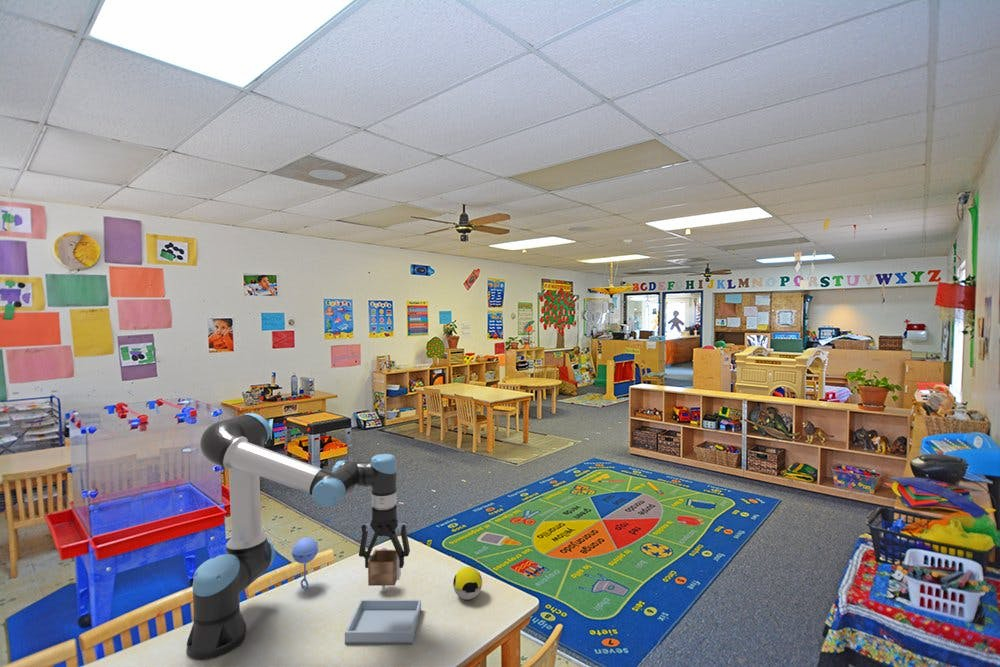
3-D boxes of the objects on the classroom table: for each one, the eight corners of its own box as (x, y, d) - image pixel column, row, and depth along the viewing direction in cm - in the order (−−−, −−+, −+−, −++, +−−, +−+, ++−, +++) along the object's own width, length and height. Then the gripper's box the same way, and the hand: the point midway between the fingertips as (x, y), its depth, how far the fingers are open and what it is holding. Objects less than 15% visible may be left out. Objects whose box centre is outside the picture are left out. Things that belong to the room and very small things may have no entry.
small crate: (368, 585, 140) (368, 562, 140) (375, 571, 148) (375, 549, 148) (394, 585, 140) (394, 562, 140) (400, 571, 148) (400, 549, 148)
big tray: (344, 644, 137) (344, 632, 136) (360, 609, 153) (360, 599, 152) (412, 644, 137) (412, 632, 137) (421, 610, 153) (421, 599, 153)
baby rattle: (323, 586, 166) (323, 537, 165) (302, 598, 158) (301, 547, 158) (308, 579, 170) (308, 531, 170) (286, 590, 163) (286, 540, 162)
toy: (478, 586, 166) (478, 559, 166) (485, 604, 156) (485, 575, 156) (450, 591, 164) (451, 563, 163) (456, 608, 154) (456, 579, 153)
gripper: (346, 510, 140) (347, 584, 140) (415, 510, 140) (416, 584, 140) (354, 500, 147) (354, 571, 148) (419, 500, 147) (420, 570, 148)
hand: (384, 577), depth 144 cm, fingers closed on small crate, 8 cm apart
